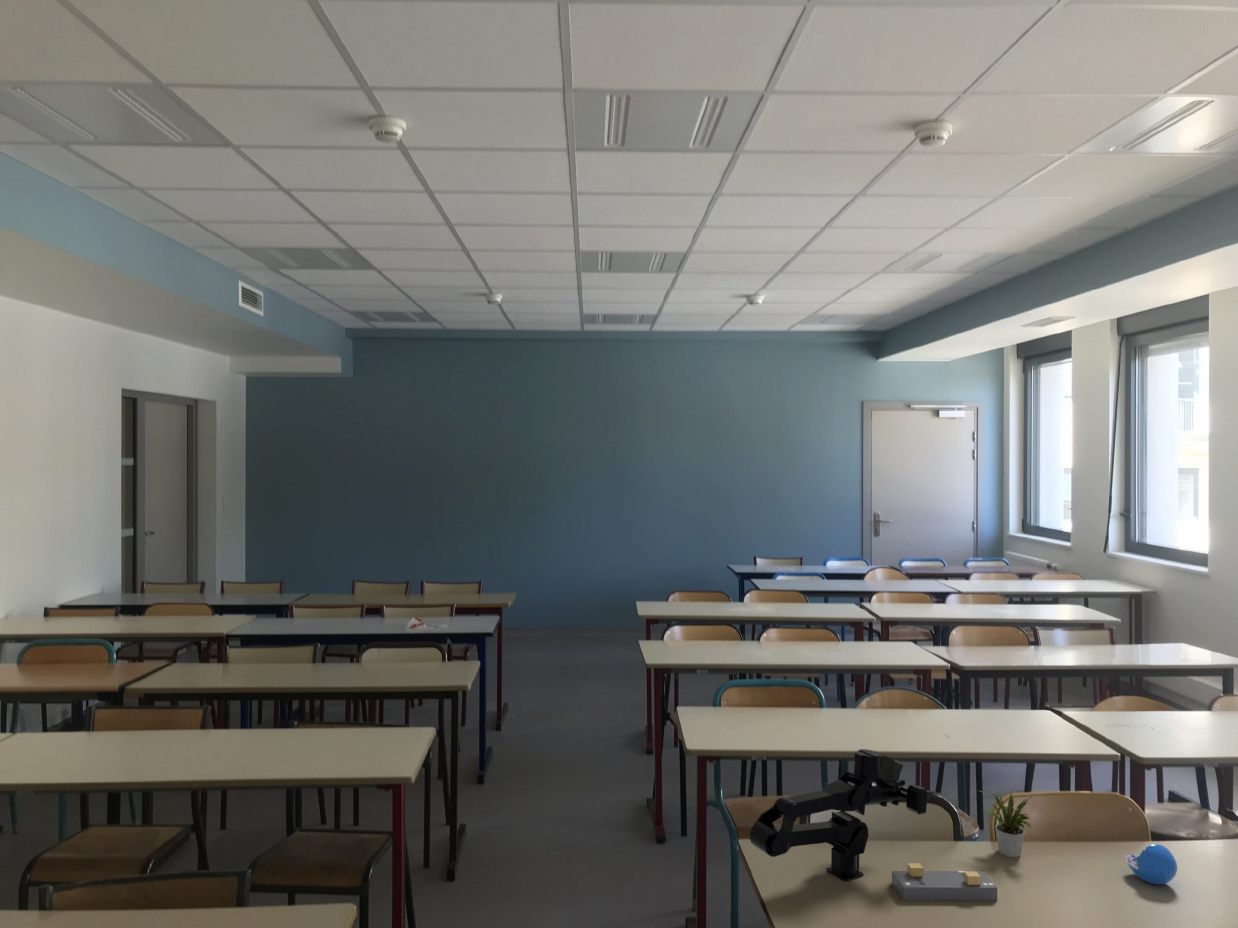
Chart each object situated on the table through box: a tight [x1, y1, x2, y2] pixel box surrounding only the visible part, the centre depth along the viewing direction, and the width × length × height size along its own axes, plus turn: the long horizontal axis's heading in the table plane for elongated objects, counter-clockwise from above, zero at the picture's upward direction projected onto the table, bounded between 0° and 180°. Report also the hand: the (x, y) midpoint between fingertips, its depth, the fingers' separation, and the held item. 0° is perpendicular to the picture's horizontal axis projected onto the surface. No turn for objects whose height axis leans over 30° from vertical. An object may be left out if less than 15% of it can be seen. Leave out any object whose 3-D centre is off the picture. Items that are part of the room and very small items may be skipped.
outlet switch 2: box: [963, 870, 981, 885], centre depth 191 cm, size 3×2×2 cm
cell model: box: [1123, 843, 1178, 885], centre depth 200 cm, size 10×12×10 cm
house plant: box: [976, 789, 1033, 858], centre depth 214 cm, size 14×14×16 cm
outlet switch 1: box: [906, 862, 924, 877], centre depth 195 cm, size 3×2×2 cm
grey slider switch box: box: [891, 870, 998, 902], centre depth 193 cm, size 22×8×3 cm, turn 91°
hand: (918, 787), depth 213 cm, fingers open, 9 cm apart
